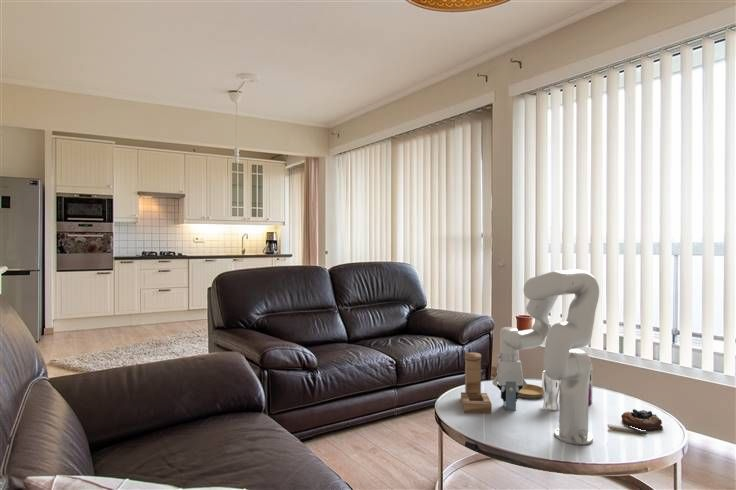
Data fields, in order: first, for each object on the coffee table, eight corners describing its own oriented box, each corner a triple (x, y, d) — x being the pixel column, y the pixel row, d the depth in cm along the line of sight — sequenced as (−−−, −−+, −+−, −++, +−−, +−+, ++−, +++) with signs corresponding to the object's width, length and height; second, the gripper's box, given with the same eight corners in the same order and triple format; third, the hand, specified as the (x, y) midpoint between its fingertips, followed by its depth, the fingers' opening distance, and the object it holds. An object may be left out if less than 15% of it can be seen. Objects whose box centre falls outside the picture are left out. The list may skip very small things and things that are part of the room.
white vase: (556, 405, 197) (556, 370, 197) (561, 411, 190) (561, 375, 190) (539, 404, 198) (539, 370, 197) (544, 411, 191) (544, 375, 190)
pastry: (667, 430, 172) (667, 414, 172) (638, 433, 170) (638, 417, 169) (644, 419, 183) (644, 404, 182) (617, 421, 180) (617, 406, 180)
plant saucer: (538, 388, 219) (538, 383, 219) (551, 400, 204) (551, 394, 204) (507, 389, 219) (507, 383, 219) (518, 400, 204) (518, 394, 204)
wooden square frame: (491, 413, 189) (491, 364, 188) (464, 412, 190) (463, 364, 189) (484, 396, 208) (484, 352, 208) (459, 396, 209) (459, 352, 209)
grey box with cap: (516, 411, 191) (516, 382, 190) (506, 411, 191) (506, 382, 191) (512, 405, 197) (512, 377, 197) (503, 405, 198) (503, 377, 198)
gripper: (490, 359, 191) (490, 403, 192) (532, 359, 190) (532, 404, 190) (487, 354, 199) (487, 396, 199) (527, 355, 197) (527, 397, 198)
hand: (509, 400), depth 195 cm, fingers closed on grey box with cap, 4 cm apart
